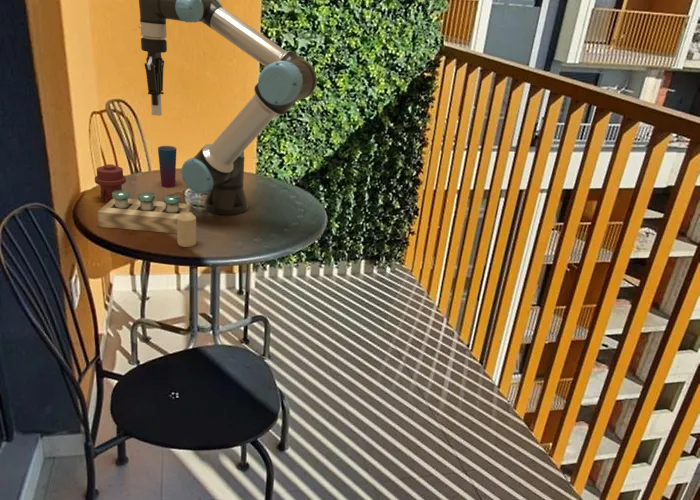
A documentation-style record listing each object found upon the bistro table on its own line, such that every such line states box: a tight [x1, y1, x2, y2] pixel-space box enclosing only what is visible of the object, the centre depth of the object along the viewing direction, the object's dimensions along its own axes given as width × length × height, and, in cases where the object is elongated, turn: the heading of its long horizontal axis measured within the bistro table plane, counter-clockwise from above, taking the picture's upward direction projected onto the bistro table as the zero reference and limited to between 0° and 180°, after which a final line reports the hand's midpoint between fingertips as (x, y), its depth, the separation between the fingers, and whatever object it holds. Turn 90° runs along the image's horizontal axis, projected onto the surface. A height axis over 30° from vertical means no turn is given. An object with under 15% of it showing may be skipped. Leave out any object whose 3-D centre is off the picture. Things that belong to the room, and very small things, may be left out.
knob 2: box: [163, 193, 181, 214], centre depth 175 cm, size 5×5×8 cm
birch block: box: [97, 198, 194, 234], centre depth 175 cm, size 26×14×5 cm, turn 92°
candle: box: [176, 212, 197, 248], centre depth 163 cm, size 6×6×10 cm
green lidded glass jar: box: [137, 191, 156, 212], centre depth 174 cm, size 5×5×8 cm
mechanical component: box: [94, 164, 127, 203], centre depth 189 cm, size 12×10×10 cm
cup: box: [157, 145, 177, 188], centre depth 209 cm, size 7×7×15 cm
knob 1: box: [112, 189, 131, 209], centre depth 174 cm, size 5×5×8 cm
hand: (156, 114), depth 176 cm, fingers closed
